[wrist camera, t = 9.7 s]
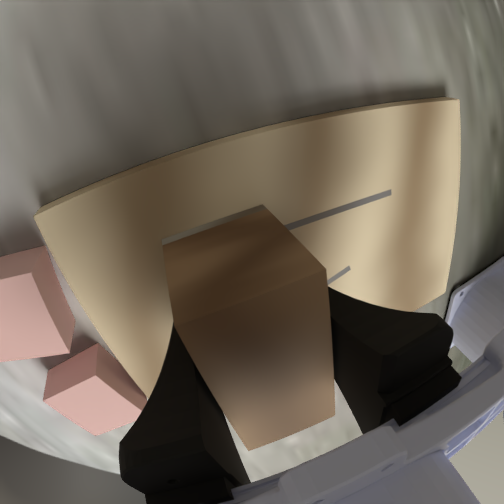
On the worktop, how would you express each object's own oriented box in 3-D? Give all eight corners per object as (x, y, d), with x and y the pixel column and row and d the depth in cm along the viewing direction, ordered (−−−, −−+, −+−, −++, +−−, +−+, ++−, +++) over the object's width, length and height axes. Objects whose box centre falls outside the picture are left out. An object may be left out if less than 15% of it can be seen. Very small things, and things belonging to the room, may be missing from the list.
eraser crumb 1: (46, 243, 11) (31, 272, 9) (76, 317, 13) (69, 353, 11) (-22, 260, 10) (-42, 289, 8) (11, 328, 12) (-1, 361, 10)
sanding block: (262, 204, 12) (326, 269, 8) (292, 343, 16) (335, 415, 12) (161, 239, 11) (174, 326, 7) (220, 371, 16) (248, 450, 12)
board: (445, 97, 13) (459, 99, 12) (436, 285, 20) (445, 292, 19) (40, 207, 10) (33, 216, 9) (161, 402, 17) (163, 415, 16)
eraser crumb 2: (98, 339, 14) (95, 375, 12) (144, 381, 16) (148, 415, 14) (48, 367, 14) (43, 400, 12) (95, 404, 16) (95, 435, 14)
